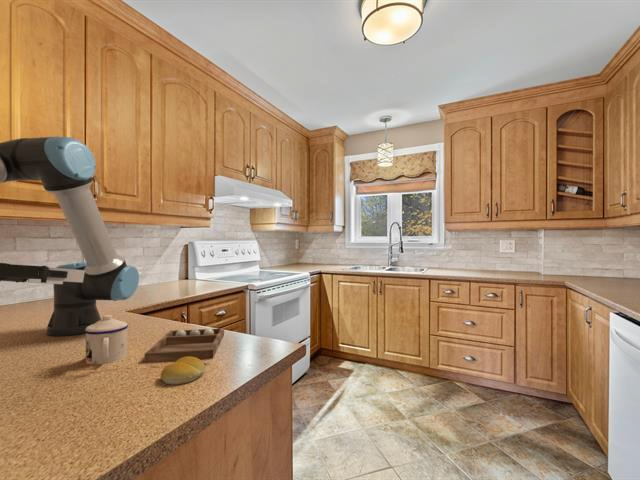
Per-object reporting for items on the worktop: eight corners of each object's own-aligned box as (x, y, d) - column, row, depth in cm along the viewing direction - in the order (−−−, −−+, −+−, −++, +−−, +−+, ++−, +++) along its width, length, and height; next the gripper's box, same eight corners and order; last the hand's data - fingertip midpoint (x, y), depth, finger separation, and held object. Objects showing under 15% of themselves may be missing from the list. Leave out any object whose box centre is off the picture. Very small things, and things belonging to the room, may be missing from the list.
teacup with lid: (86, 359, 82) (86, 314, 82) (127, 353, 87) (128, 310, 87) (80, 376, 72) (80, 324, 72) (127, 368, 76) (128, 319, 77)
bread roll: (152, 384, 68) (152, 365, 68) (180, 368, 77) (180, 351, 77) (186, 388, 66) (186, 369, 66) (211, 371, 75) (211, 354, 75)
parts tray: (170, 340, 98) (170, 330, 98) (224, 337, 101) (224, 328, 101) (144, 366, 77) (144, 353, 77) (213, 361, 80) (213, 349, 80)
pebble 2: (190, 338, 97) (190, 328, 97) (201, 337, 98) (201, 327, 98) (188, 341, 94) (188, 330, 94) (199, 340, 95) (199, 330, 95)
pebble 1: (176, 338, 96) (176, 328, 96) (187, 338, 97) (187, 328, 97) (174, 341, 93) (174, 331, 93) (184, 341, 94) (184, 331, 94)
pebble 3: (204, 337, 98) (204, 327, 98) (214, 336, 98) (214, 327, 98) (202, 340, 95) (202, 330, 95) (213, 339, 95) (213, 329, 95)
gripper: (-76, 289, 66) (53, 294, 83) (-63, 286, 51) (90, 292, 68) (-66, 253, 67) (58, 265, 84) (-51, 241, 53) (96, 258, 70)
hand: (72, 277), depth 76 cm, fingers open, 13 cm apart
